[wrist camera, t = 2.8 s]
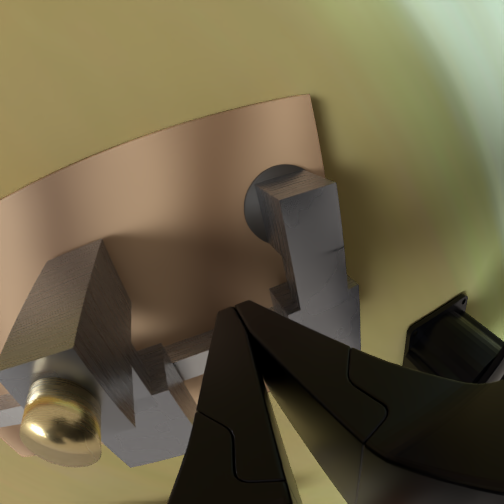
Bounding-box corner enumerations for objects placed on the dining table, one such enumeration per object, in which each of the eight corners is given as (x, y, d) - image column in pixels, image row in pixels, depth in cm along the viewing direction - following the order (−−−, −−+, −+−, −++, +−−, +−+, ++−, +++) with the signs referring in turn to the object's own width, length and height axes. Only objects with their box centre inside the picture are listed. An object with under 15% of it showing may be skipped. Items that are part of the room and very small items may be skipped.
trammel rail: (311, 165, 12) (349, 178, 10) (333, 324, 16) (360, 354, 14) (-84, 322, 9) (-104, 353, 6) (2, 429, 12) (-4, 462, 10)
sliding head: (117, 232, 11) (93, 384, 4) (191, 385, 14) (232, 519, 8) (35, 266, 10) (-37, 415, 4) (125, 406, 14) (141, 538, 8)
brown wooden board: (296, 95, 12) (311, 93, 11) (334, 345, 19) (346, 360, 17) (-105, 270, 8) (-118, 282, 7) (24, 443, 15) (22, 459, 14)
